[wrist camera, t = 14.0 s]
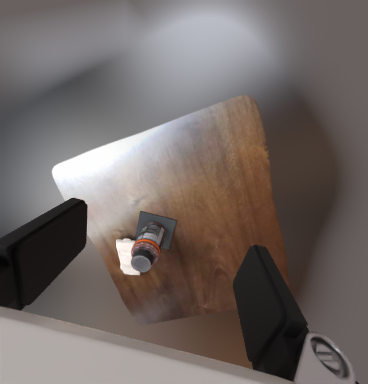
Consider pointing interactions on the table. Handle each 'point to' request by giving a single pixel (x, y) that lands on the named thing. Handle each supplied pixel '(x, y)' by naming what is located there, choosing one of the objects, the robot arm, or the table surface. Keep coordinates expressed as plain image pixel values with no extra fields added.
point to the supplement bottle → (148, 246)
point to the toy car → (126, 255)
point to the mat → (166, 222)
